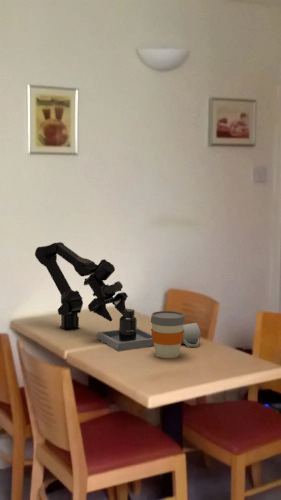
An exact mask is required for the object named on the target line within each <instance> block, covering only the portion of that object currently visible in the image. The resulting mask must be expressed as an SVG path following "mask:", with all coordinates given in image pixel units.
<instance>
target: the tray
mask: <svg viewBox="0 0 281 500" xmlns="http://www.w3.org/2000/svg"><path fill="white" fill-rule="evenodd" d="M96 335H97V336H96V337H97V340H98V339H99V340H98V341H100V340H101V341H100V342H102V341H103V342H105V343H107V344H106V345H107V346H109V347H110V348H112V349H114V350H116V351H118V352H119V351H120V352H121V351H126V350H134V349H141V348H147V347H154V342H153V341H152V333H150V332H149V331H145V330H144V329H141V328H140V327H137V330H136V340H134V341H126V342H124V341H120V340H119V329H115V330H114V329H113V330H106V331H98V332H97V334H96ZM103 342H102V343H103ZM105 343H104V344H105Z"/></svg>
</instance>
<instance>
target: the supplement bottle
mask: <svg viewBox="0 0 281 500" xmlns="http://www.w3.org/2000/svg"><path fill="white" fill-rule="evenodd" d="M121 315H122V316H120V317H119V322H118V323H119V324H118V326H119V327H118V330H119V340H120V341H124V342H126V341H134V340H136V330H137V328H138V327H137V324H138V321H137V320H138V319H137V317H136V316H135V309H132V308H126V309H123V310H122V314H121Z"/></svg>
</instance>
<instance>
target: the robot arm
mask: <svg viewBox="0 0 281 500" xmlns="http://www.w3.org/2000/svg"><path fill="white" fill-rule="evenodd" d="M34 256H35V258H36V259H37V261H38V262H39V263H40V264H41V265H42V266H44V267H45V268H46V270H47V271H48V273H49V275H50V277H51V278H52V280H53V282H54V284H55V286H56V289H57V290H58V291H59V294H60V303H61V305H60V306H59V308H57V313H58V316H61V317H60V318H61V319H60V321H61V322H60V323H61V325H59V328H61V329H63V330H64V331H70V330H71V331H72V330H79V329H80V322H79V321H80V317H79V316H78V315H79V314H80V313H81V311H82V308H83V304H84V301H83V297H82V296H81V294H80V291H79V290H73V289H72V288H71V286H70V284H69V282H68V279H66V277H65V275H64V273H63V271H62V269H61V267H60V266H59V264H58V262H57V259H58V257H57V256H59V257H60V258H63V260H65V261H66V262H67V263H69V264H70V265H72V266H73V269H74V271H75V272H76V273H77V274H78V276H80V277H87V276H88V277H87V278H84V281H83V286H89V287H90V289H91V291H92V292H93V293H92V296H93V297H94V298H93V299H92V300H91V301H90V303H88V306H87V308H88V311H89V312H91V313H93V314H97V315H98V316H100V317H102V318H104V319H105V320H107V321H109V323H110V322H112V321H113V318H112V316H111V314H110V312H109V310H108V309H107V305H108V304H109V305H110V304H112V305H113V306H114V308H115V310H117V311H118V312H119V313H120V314H121V315H122V310H123V309H127V308H126V300H127V298H129V296H128V294H127V292H125V291H122V289H123V287H124V286H123V284H122V282H121V281H116V282H114V283H113V284H110V285H109V284H106V283H105V281H107V280H108V279H109V277H111V276H112V275H113V273H114V272H115V270H116V269H115V267H116V266H114V264H112V263H111V262H109V261H107V259H105V258H104V259H101V260H100V261H99V263H98V264H96V262H95V261H93V260H91V259H89V258H85V257H82V256H80V255H78V253H76V252H75V251H73V250H72V249H71V248H69V247H68V246H67V245H65V243H63V242H61V241H58V242H53V243H51V244H47V245H44V246H38V247H36V249H35V252H34ZM116 293H117V294H116Z"/></svg>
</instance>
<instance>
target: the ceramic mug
mask: <svg viewBox="0 0 281 500" xmlns="http://www.w3.org/2000/svg"><path fill="white" fill-rule="evenodd" d="M183 329H184V334H183V341H182V343H181V345H184V344H185V346H187V347H189V348H196V347H198V346H199V343H200V341H201V329H200V326H199V324H198V323H197V322H193V323H187V324H184V327H183Z"/></svg>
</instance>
